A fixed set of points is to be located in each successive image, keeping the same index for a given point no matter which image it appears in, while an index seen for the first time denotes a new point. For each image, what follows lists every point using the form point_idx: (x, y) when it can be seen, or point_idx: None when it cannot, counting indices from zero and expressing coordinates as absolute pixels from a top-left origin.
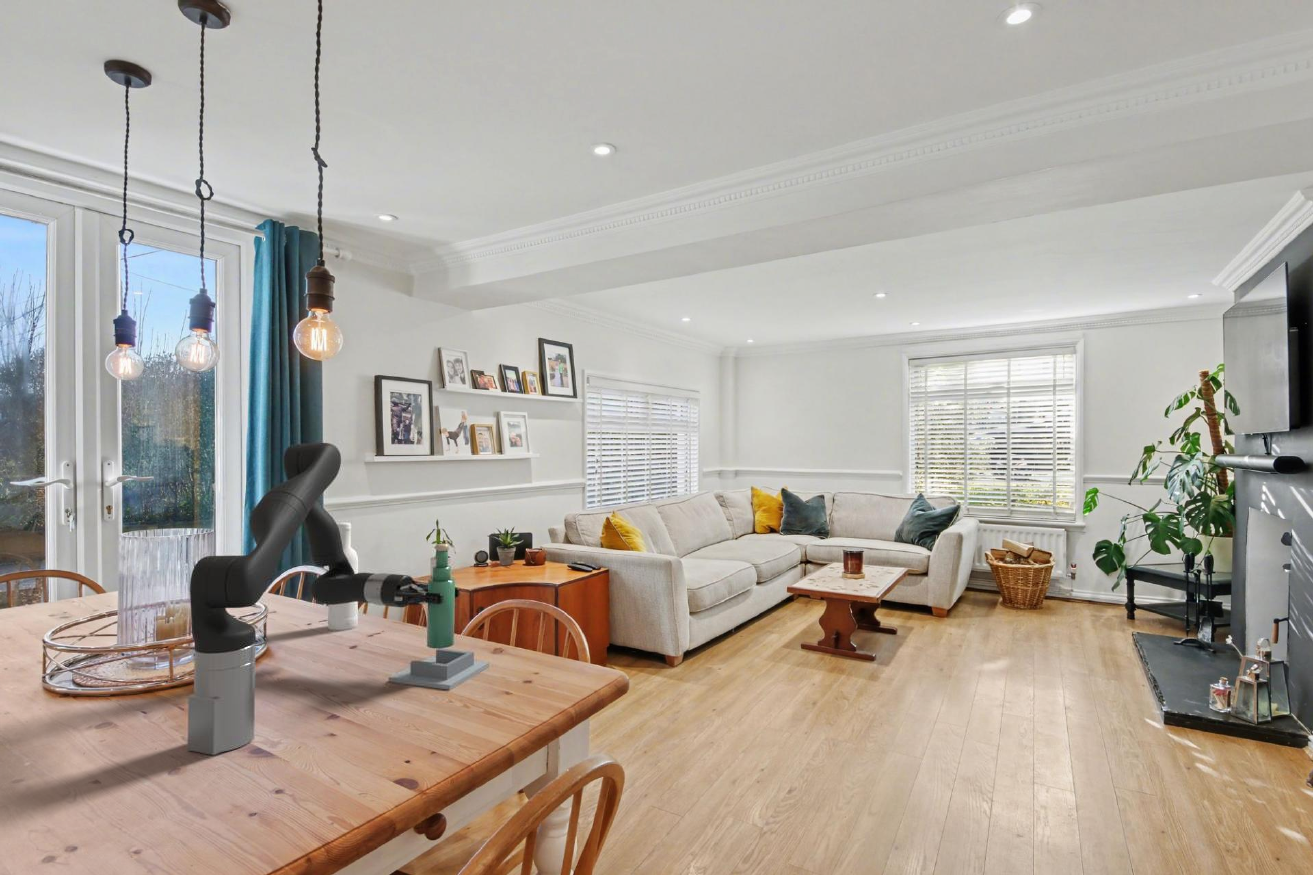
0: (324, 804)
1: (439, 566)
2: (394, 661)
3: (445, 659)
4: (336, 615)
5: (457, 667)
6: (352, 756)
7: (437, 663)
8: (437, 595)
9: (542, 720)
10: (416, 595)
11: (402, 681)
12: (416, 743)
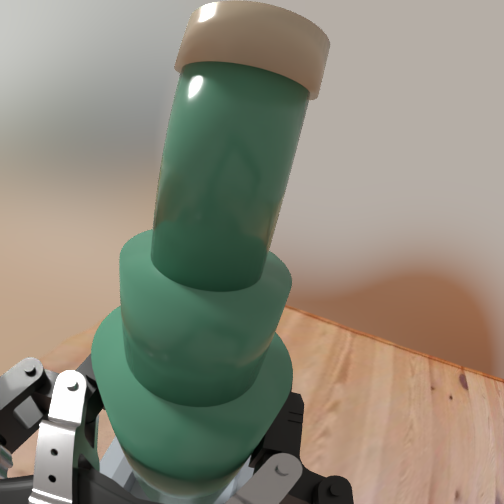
0: (498, 407)
1: (267, 255)
2: None
3: (130, 484)
4: None
5: None
6: (470, 440)
7: (240, 480)
8: (289, 396)
9: (338, 328)
10: (348, 485)
11: None
12: (431, 409)
